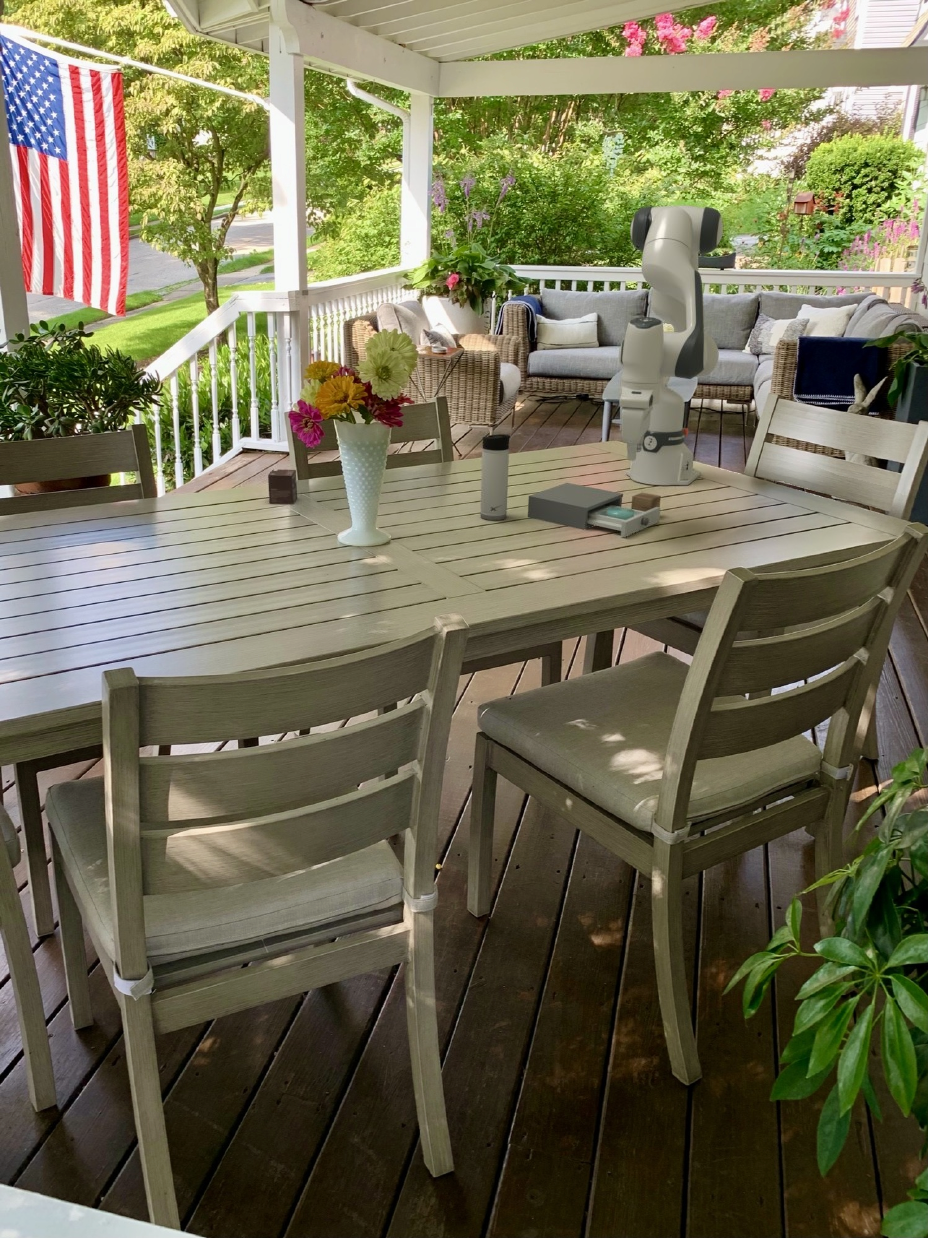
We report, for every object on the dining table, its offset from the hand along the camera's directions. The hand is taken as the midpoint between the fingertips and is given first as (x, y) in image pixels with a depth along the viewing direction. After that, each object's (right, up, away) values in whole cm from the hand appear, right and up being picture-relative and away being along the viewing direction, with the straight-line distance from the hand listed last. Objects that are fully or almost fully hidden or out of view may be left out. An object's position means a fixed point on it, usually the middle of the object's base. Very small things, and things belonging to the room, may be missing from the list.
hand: (634, 455), depth 231 cm
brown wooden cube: (+5, -12, +16) cm, 20 cm away
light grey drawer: (-3, -15, +9) cm, 17 cm away
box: (-84, -8, +22) cm, 87 cm away
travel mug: (-31, -13, +12) cm, 36 cm away
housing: (-12, -12, +15) cm, 22 cm away
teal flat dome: (-2, -13, +7) cm, 15 cm away
